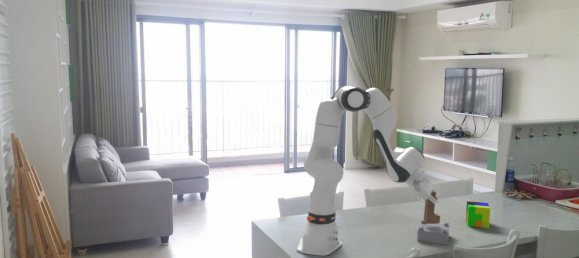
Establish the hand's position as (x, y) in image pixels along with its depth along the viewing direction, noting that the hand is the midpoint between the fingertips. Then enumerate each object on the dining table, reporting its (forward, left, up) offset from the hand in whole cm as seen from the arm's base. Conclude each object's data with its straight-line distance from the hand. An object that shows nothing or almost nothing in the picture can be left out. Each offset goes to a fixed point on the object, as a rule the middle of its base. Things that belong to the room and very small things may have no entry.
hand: (436, 201), depth 219 cm
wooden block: (+1, +2, -11) cm, 11 cm away
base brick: (0, +1, -17) cm, 17 cm away
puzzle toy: (+30, -18, -18) cm, 39 cm away
